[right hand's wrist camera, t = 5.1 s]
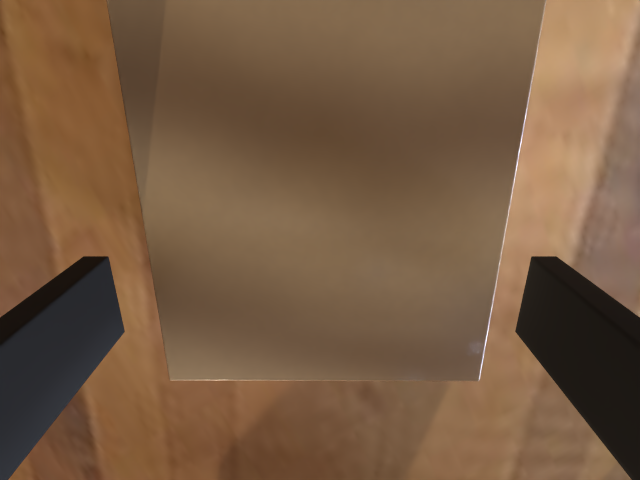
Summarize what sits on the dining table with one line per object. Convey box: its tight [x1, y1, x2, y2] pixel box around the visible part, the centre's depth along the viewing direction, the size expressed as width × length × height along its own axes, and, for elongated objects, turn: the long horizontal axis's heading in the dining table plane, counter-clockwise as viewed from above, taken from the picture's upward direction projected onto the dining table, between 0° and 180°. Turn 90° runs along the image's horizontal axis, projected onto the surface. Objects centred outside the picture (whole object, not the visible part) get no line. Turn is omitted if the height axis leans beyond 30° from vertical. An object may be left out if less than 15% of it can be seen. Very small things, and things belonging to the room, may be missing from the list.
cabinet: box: [107, 0, 546, 381], centre depth 15 cm, size 19×11×9 cm, turn 0°
